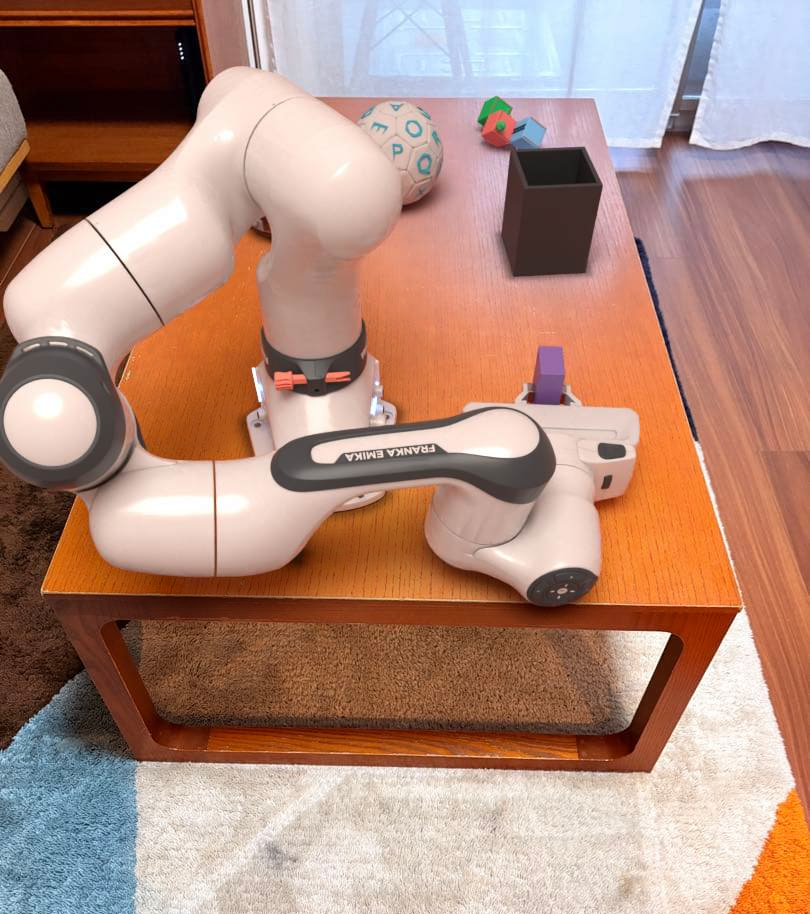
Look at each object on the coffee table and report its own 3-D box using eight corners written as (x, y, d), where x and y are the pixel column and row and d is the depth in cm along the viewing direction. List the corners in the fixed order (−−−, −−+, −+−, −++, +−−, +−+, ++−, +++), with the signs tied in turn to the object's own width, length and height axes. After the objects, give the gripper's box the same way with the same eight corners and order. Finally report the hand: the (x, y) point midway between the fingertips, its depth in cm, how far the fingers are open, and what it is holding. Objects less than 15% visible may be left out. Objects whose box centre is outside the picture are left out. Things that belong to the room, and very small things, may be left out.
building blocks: (501, 165, 152) (540, 149, 142) (467, 140, 148) (504, 123, 138) (516, 125, 152) (556, 107, 142) (483, 100, 148) (521, 79, 138)
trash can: (585, 272, 123) (603, 185, 112) (513, 276, 123) (524, 188, 112) (569, 232, 130) (584, 146, 119) (501, 235, 129) (510, 149, 119)
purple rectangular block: (551, 443, 101) (565, 374, 92) (528, 443, 101) (540, 373, 92) (549, 415, 104) (562, 346, 95) (527, 415, 104) (538, 345, 95)
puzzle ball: (349, 223, 131) (344, 128, 120) (352, 175, 141) (347, 83, 129) (443, 223, 132) (448, 128, 120) (439, 175, 141) (443, 83, 129)
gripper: (456, 487, 93) (457, 404, 101) (638, 495, 92) (624, 410, 101) (459, 448, 88) (460, 364, 96) (651, 456, 87) (635, 370, 96)
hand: (545, 387), depth 98 cm, fingers closed on purple rectangular block, 3 cm apart
